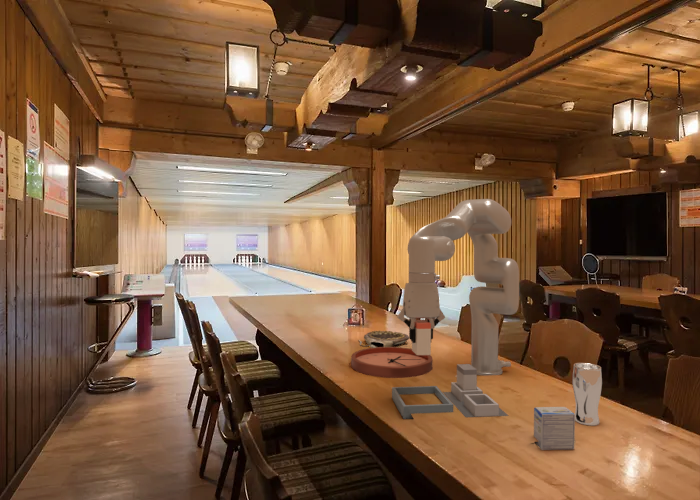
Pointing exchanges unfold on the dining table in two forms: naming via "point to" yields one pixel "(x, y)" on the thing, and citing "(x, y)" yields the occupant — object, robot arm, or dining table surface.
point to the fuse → (466, 377)
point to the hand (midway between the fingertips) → (421, 341)
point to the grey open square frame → (412, 409)
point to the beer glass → (587, 392)
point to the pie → (385, 338)
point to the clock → (391, 362)
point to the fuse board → (473, 402)
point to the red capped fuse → (422, 338)
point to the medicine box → (554, 428)
